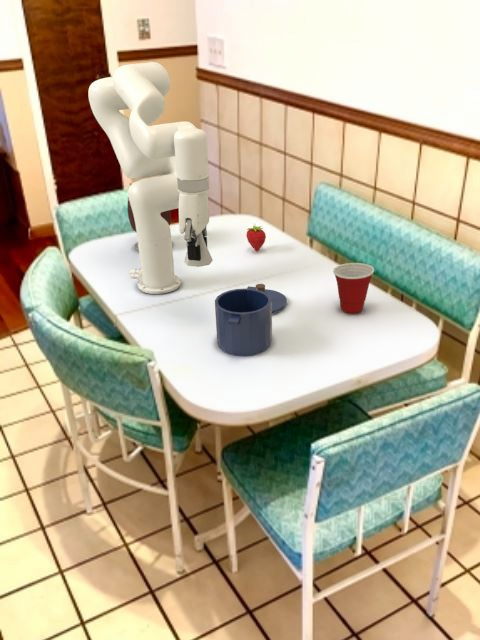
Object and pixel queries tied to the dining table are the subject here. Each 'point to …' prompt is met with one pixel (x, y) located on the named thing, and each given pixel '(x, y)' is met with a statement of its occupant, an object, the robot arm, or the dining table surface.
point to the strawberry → (256, 237)
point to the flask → (205, 254)
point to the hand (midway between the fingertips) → (197, 254)
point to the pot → (244, 321)
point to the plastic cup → (353, 285)
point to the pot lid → (274, 298)
